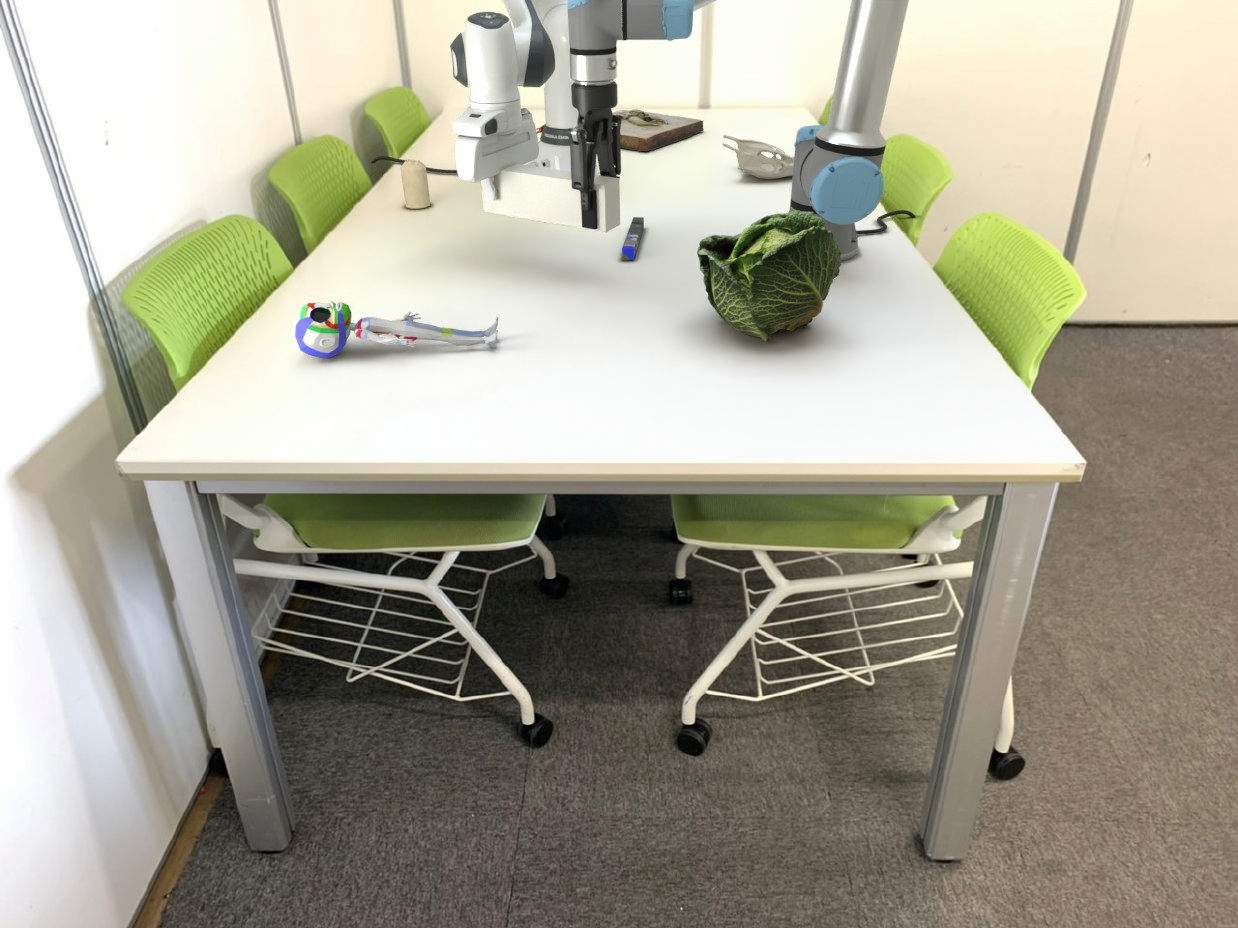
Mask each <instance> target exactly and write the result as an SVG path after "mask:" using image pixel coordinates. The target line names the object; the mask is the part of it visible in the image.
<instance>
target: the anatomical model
mask: <svg viewBox="0 0 1238 928" xmlns="http://www.w3.org/2000/svg"><path fill="white" fill-rule="evenodd" d="M722 138H723V139H727V140H730V141H733V142H735V143H736V144H737V148H735V147H733V146H731V145H729V144H728V143H725V142H722V143H721V144H722V145H721V146H723V147H725V148H726V149H729V150H731V151H733V152H734V153H735V154H736V159H737V163H738V167H737V169H738V170H741V171H742V173H744V174H745V175H750V176H751V175H752V176H754V177H755V178H757V179H766V180H769V179H779V178H784V177H785V178H786V177H793V167H794V156H793V155H789V154H787V153H786V152H785V151H783V149H781V148H779V147H777V146H775V145H772V144H770V143H766V142H764V141H759V140H754V139H744V138H738V137H734V136H730V135H726V134H723V136H722ZM762 153H770V154H772V155H773V156H772V157H768V156H766V155H764V154H762ZM777 155H778V156H779V157H780V158H778V157H777Z"/></svg>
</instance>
